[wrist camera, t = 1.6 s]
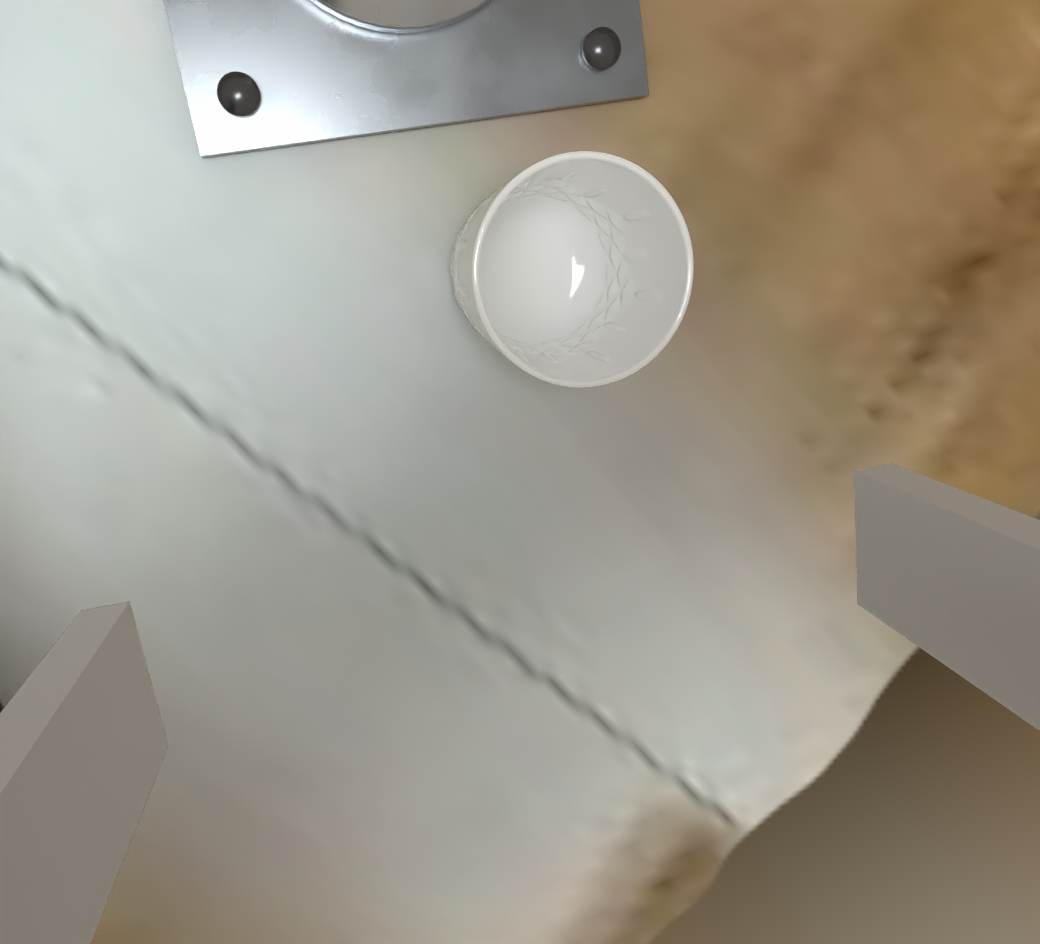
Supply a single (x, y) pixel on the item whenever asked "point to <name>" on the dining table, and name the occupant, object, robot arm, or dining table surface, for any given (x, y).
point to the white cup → (576, 269)
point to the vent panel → (394, 64)
